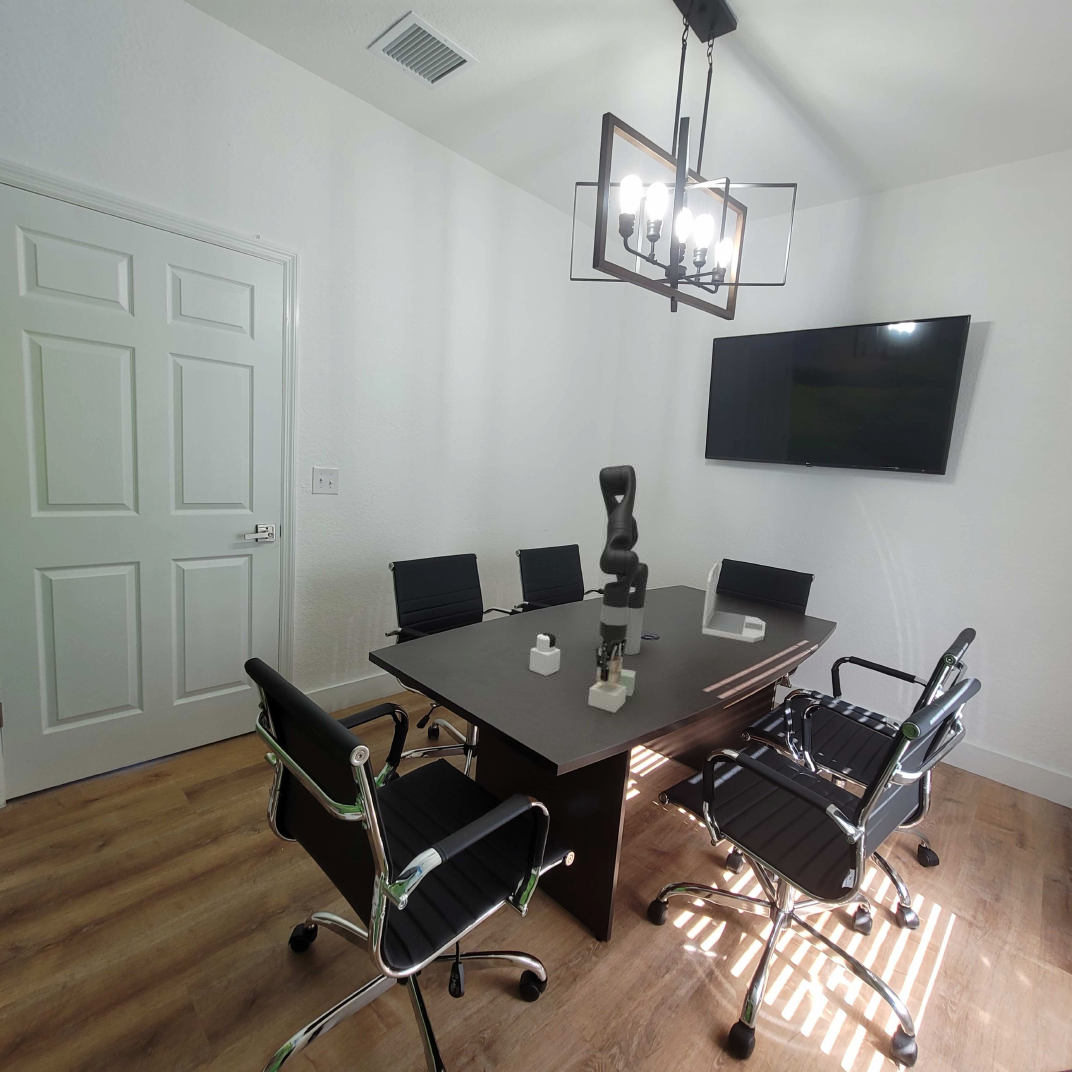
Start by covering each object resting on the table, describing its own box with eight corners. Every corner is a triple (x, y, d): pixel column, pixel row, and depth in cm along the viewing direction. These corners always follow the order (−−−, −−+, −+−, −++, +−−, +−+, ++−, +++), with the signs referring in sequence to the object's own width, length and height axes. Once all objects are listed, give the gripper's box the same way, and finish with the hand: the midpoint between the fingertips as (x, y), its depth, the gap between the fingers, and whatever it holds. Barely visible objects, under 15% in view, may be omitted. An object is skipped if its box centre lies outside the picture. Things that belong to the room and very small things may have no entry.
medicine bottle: (542, 664, 182) (544, 629, 180) (559, 670, 178) (562, 635, 176) (528, 669, 177) (531, 634, 175) (545, 676, 172) (548, 640, 170)
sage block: (617, 687, 168) (619, 668, 167) (633, 689, 166) (635, 671, 166) (614, 693, 163) (616, 674, 162) (631, 696, 162) (633, 677, 161)
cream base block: (599, 695, 161) (600, 679, 161) (624, 703, 157) (626, 686, 157) (588, 705, 154) (589, 688, 154) (614, 713, 151) (616, 696, 150)
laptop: (763, 645, 218) (771, 580, 214) (701, 633, 228) (708, 571, 224) (765, 624, 249) (772, 567, 245) (710, 614, 258) (716, 560, 254)
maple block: (605, 675, 158) (607, 652, 157) (620, 680, 156) (622, 657, 155) (596, 680, 154) (598, 657, 153) (611, 685, 152) (614, 661, 151)
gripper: (614, 612, 160) (609, 667, 163) (589, 622, 149) (584, 681, 151) (637, 618, 156) (632, 674, 158) (613, 628, 144) (608, 689, 147)
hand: (608, 677), depth 155 cm, fingers closed on maple block, 5 cm apart
